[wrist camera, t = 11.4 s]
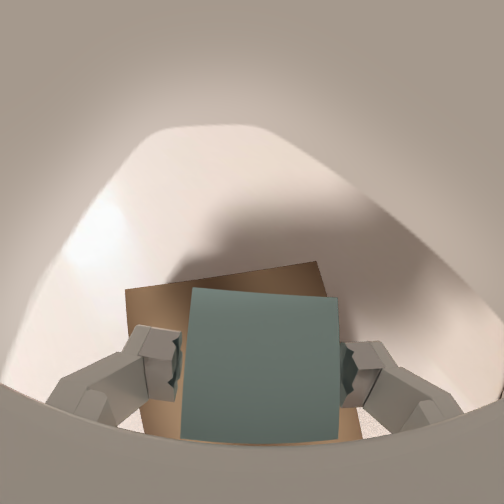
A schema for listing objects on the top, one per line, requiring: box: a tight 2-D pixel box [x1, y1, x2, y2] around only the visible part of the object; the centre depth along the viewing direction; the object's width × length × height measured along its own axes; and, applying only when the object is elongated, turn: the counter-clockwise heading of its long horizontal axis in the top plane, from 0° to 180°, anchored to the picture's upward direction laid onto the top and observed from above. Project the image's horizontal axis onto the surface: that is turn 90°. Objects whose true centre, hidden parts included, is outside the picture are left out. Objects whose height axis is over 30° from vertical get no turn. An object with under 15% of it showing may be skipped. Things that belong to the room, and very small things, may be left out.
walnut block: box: [125, 261, 363, 446], centre depth 17 cm, size 12×12×6 cm
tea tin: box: [180, 287, 340, 444], centre depth 11 cm, size 4×4×8 cm
